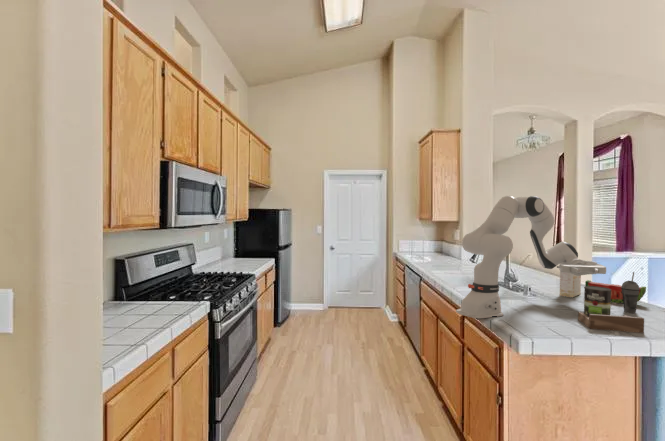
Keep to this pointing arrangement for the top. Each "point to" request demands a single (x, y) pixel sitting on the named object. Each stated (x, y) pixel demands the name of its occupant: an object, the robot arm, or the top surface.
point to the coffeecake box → (569, 284)
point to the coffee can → (597, 300)
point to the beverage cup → (630, 295)
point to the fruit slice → (615, 291)
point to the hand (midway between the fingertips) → (587, 271)
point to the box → (612, 322)
